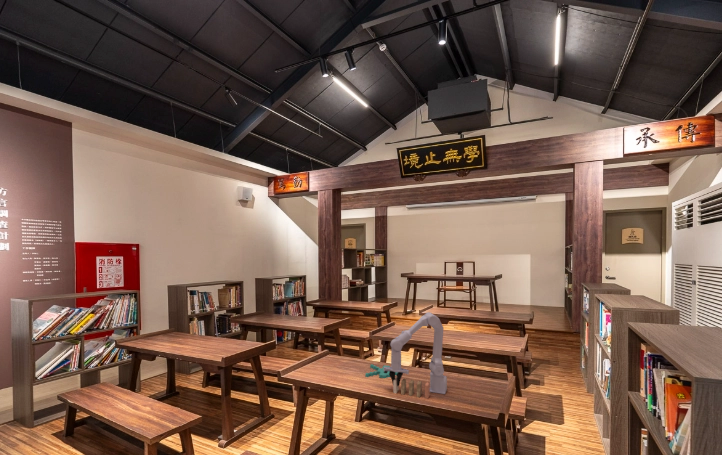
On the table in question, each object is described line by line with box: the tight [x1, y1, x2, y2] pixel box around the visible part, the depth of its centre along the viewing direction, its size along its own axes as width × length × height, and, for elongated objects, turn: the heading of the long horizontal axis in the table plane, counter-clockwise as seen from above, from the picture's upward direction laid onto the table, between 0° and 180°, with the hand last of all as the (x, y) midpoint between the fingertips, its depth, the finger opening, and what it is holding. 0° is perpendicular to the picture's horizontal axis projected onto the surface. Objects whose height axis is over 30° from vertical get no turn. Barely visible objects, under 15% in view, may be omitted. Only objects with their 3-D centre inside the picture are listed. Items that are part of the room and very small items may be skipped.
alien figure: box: [365, 364, 397, 379], centre depth 236 cm, size 20×2×20 cm
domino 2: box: [408, 379, 415, 397], centre depth 201 cm, size 2×5×7 cm, turn 158°
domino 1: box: [400, 378, 407, 396], centre depth 203 cm, size 2×5×7 cm, turn 158°
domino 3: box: [416, 380, 423, 398], centre depth 200 cm, size 2×5×7 cm, turn 158°
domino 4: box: [424, 381, 431, 400], centre depth 198 cm, size 2×5×7 cm, turn 158°
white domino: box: [392, 377, 400, 394], centre depth 205 cm, size 2×5×7 cm, turn 158°
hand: (396, 385), depth 205 cm, fingers closed
